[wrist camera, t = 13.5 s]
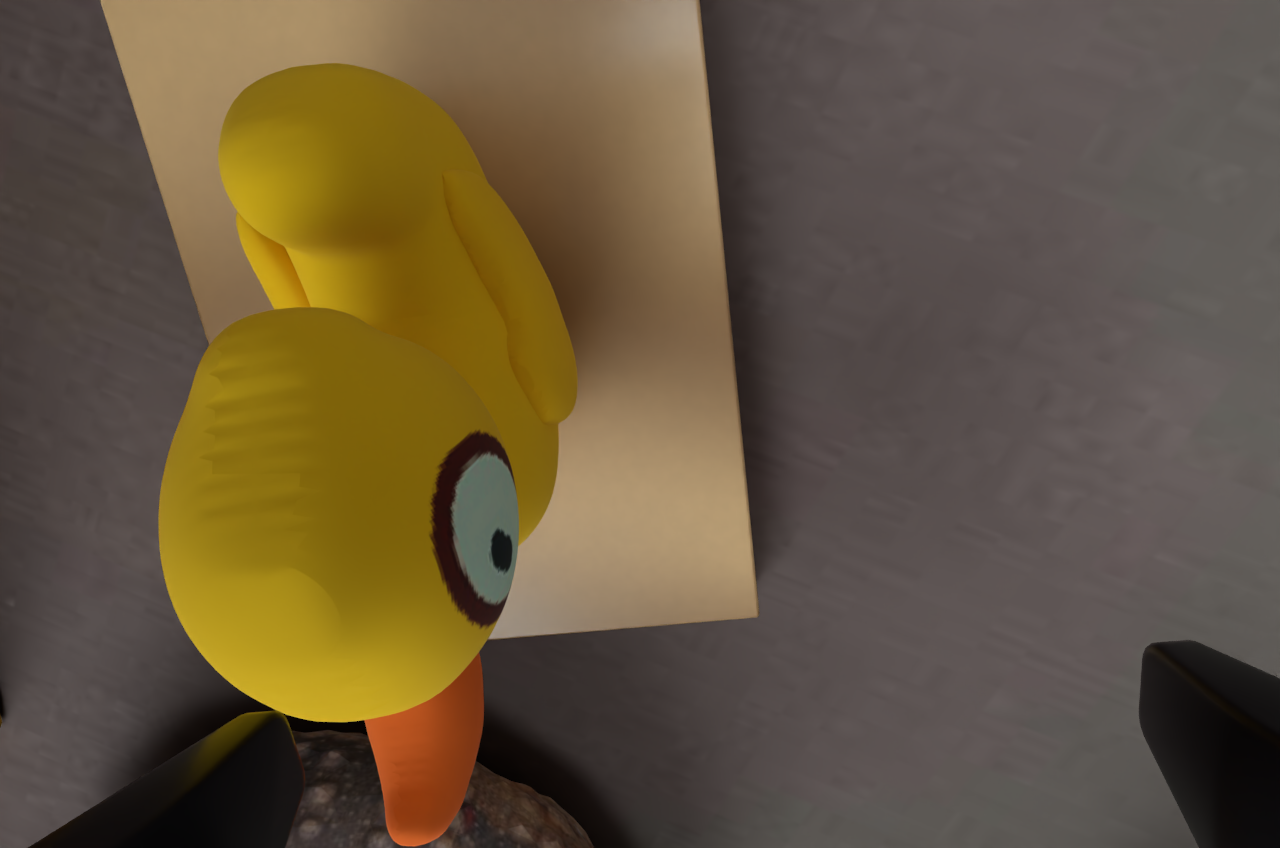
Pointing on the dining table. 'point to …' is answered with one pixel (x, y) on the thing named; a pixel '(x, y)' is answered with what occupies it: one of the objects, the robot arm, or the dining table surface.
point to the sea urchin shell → (355, 813)
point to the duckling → (367, 428)
